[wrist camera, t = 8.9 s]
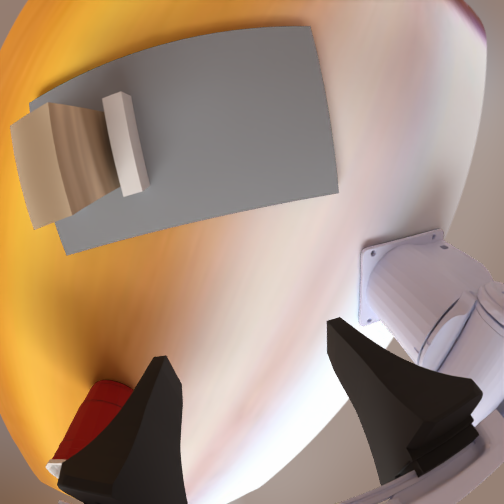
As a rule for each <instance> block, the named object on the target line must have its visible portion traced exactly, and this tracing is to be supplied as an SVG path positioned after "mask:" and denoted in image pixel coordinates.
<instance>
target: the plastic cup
mask: <svg viewBox="0 0 504 504" xmlns="http://www.w3.org/2000/svg"><path fill="white" fill-rule="evenodd" d="M132 392H133V390H132V389H131V388H129V387H128V386H126V385H124V384H122V383H119V382H115V381H112V380H101V381H98V382H96V383H95V385H93V387H92V388H91V389H90V391H89V393H88V395H87V397H86V398H85V400H84V402H83V403H82V404H81V406H80V407H79V409H78V411H77V413H76V415H75V417H74V419H73V421H72V423H71V425H70V427H69V429H68V431H67V433H66V435H65V437H64V439H63V441H62V442H61V443H60V445H59V448H58V450H57V451H56V453H55V455H54V457H53V458H52V459H50V460H49V462H48V463H47V465H46V468H47V470H48V471H49V472H50V473H51V474H52V475H54V476H55V477H57V478H58V479H59V474H60V469H61V465H62V462H64V461H66V460H67V459H69V458H70V457H72V456H73V455H75V454H76V453H78V452H79V451H80V450H82V449H83V448H84V447H85V446H87V445H88V444H89V443H90V442H91V441H92V440H94V439H95V438H96V437H97V436H98V435H99V434H100V433H101V432H102V431H103V430H104V429H105V428H106V427H107V426H108V424H109V423H110V422H111V421H112V420H113V419H114V417H115V416H116V415H117V414H118V412H119V411H120V410H121V408H122V407H123V406H124V404H125V403H126V401H127V400H128V398H129V397H130V395H131V394H132Z"/></svg>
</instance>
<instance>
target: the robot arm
mask: <svg viewBox="0 0 504 504" xmlns="http://www.w3.org/2000/svg"><path fill="white" fill-rule="evenodd" d="M443 235H444V232H443V230H441V229H436V230H432V231H429V232H425V233H421V234H417V235H414V236H410V237H406V238H402V239H398V240H394V241H390V242H386V243H383V244H379V245H375V246H371V247H367V248H364V249H363V250H362V252H361V285H360V308H359V324H360V325H361V326H365V325H368V324H371V323H374V322H377V321H380V320H381V321H382V322H383V324H384V325H385V326H386V327H387V329H388V330H389V331H390V332H391V333H392V335H393V336H394V337H395V338H396V339H397V341H398V342H399V343H400V345H401V346H402V347H403V349H404V350H405V351H406V352H407V354H408V355H409V356H410V358H411V359H412V360H413V361H414V363H415V364H413V363H411V362H409V361H406V360H404V359H402V358H400V357H398V356H396V355H394V354H393V353H390V352H389V351H387V350H386V349H384V348H382V347H381V346H379V345H378V344H376V343H375V342H373V341H372V340H370V339H369V338H367V337H366V336H364V335H363V334H362V333H360V332H359V331H357V330H356V329H355V328H353V327H352V326H351V325H349V324H348V323H347V322H346V321H344V320H343V319H342V318H340V317H339V318H335V319H332V320H329V321H327V354H328V356H329V359H330V361H331V364H332V366H333V369H334V371H335V373H336V375H337V377H338V379H339V381H340V382H341V384H342V386H343V388H344V390H345V391H346V393H347V395H348V397H349V399H350V400H351V402H352V404H353V406H354V408H355V410H356V412H357V414H358V417H359V419H360V422H361V424H362V427H363V429H364V432H365V434H366V437H367V440H368V443H369V446H370V449H371V452H372V455H373V458H374V462H375V465H376V469H377V472H378V476H379V480H380V484H381V486H380V487H378V488H376V489H373V490H371V491H368V492H366V493H363V494H361V495H358V496H356V497H353V498H350V499H347V500H344V501H341V502H339V503H335V504H378V503H380V502H382V501H385V500H387V499H389V498H390V499H389V500H388V501H387V502H385V503H383V504H456V503H457V502H459V501H460V500H461V499H463V498H464V497H465V496H467V495H468V494H469V493H470V492H471V491H473V490H474V489H475V488H476V487H477V486H478V485H480V484H481V483H482V482H483V481H484V480H485V479H486V478H488V476H490V475H491V474H492V473H493V472H494V471H495V470H496V469H497V468H498V467H499V466H500V465H501V464H502V463H503V462H504V283H501V282H498V281H493V278H492V276H491V274H490V273H489V271H488V270H487V268H486V267H485V266H484V265H483V264H481V263H480V262H478V261H477V260H475V259H474V258H472V257H470V256H469V255H468V254H466V253H464V252H462V251H461V250H459V249H458V248H456V247H454V246H453V245H451V244H449V243H448V242H446V241H444V240H443ZM432 236H433V237H432ZM372 251H374V252H373V254H371V252H372ZM368 319H369V320H368ZM182 407H183V399H182V384H181V382H180V380H179V378H178V377H177V375H176V373H175V371H174V369H173V367H172V366H171V364H170V362H169V360H168V358H167V356H159V357H154V358H153V359H152V361H151V363H150V364H149V366H148V367H147V369H146V371H145V373H144V374H143V376H142V378H141V379H140V381H139V383H138V384H137V386H136V387H135V389H134V391H133V392H132V394H131V395H130V397H129V398H128V400H127V401H126V403H125V404H124V406H123V407H122V408H121V410H120V411H119V412H118V414H117V415H116V416H115V417H114V419H113V420H112V421H111V422H110V423H109V424H108V426H107V427H106V428H105V429H104V430H103V431H102V432H101V433H100V434H99V435H98V436H97V437H96V438H95V439H94V440H92V441H91V442H90V443H89V444H88V445H87V446H85V447H84V448H83V449H82V450H80V451H79V452H78V453H76V454H75V455H73V456H72V457H70V458H69V459H67V460H66V461H64V462H62V465H61V469H60V474H59V479H58V483H57V485H58V487H59V489H61V490H62V491H63V492H65V493H67V494H68V495H70V496H72V497H74V498H76V499H78V500H79V501H81V502H83V503H84V504H188V503H187V498H186V493H185V487H184V481H183V473H182V465H181V453H180V440H181V423H182ZM58 504H72V503H68V502H65V501H62V500H59V501H58Z"/></svg>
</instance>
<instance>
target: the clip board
mask: <svg viewBox="0 0 504 504" xmlns="http://www.w3.org/2000/svg"><path fill="white" fill-rule="evenodd" d="M47 102H50V103H57V104H64V105H70V106H76V107H81V108H87V109H92V110H97V111H102V112H104V113H105V118H106V124H107V129H108V134H109V139H110V144H111V148H112V153H113V157H114V162H115V166H116V170H117V174H118V178H119V182H120V186H121V187H119V188H117V189H115V190H113V191H112V192H110V193H108V194H106V195H105V196H103V197H101V198H100V199H98V200H96V201H95V202H93V203H91V204H90V205H88V206H86V207H85V208H83V209H82V210H80V211H78V212H77V213H75V214H74V215H72V216H69V217H66V218H64V219H61V220H58V221H56V222H55V225H56V228H57V231H58V234H59V236H60V239H61V242H62V245H63V247H64V250H65V252H66V255H71V254H74V253H77V252H81V251H84V250H88V249H91V248H95V247H98V246H102V245H106V244H109V243H113V242H117V241H120V240H124V239H128V238H132V237H136V236H139V235H143V234H147V233H151V232H155V231H159V230H163V229H167V228H171V227H176V226H180V225H184V224H188V223H192V222H197V221H201V220H206V219H210V218H214V217H219V216H223V215H228V214H233V213H237V212H242V211H247V210H252V209H256V208H261V207H266V206H271V205H276V204H282V203H287V202H292V201H297V200H303V199H308V198H314V197H319V196H325V195H331V194H336V193H339V189H338V179H337V169H336V161H335V152H334V145H333V137H332V130H331V124H330V117H329V111H328V105H327V100H326V94H325V89H324V84H323V79H322V74H321V69H320V64H319V60H318V55H317V51H316V47H315V43H314V39H313V35H312V31H311V27H310V26H283V27H262V28H250V29H240V30H232V31H225V32H218V33H212V34H206V35H201V36H196V37H191V38H187V39H182V40H178V41H174V42H170V43H166V44H162V45H159V46H155V47H152V48H149V49H145V50H142V51H139V52H136V53H133V54H130V55H127V56H124V57H122V58H119V59H116V60H114V61H111V62H109V63H106V64H104V65H101V66H99V67H97V68H94V69H92V70H90V71H88V72H85V73H83V74H81V75H79V76H77V77H75V78H73V79H71V80H69V81H67V82H65V83H63V84H61V85H59V86H57V87H56V88H54V89H52V90H50V91H48V92H47V93H45V94H43V95H42V96H40V97H38V98H37V99H35V100H33V101H32V102H30V103H29V106H30V113H31V112H32V111H34V110H35V109H37V108H39V107H40V106H42V105H44V104H46V103H47Z"/></svg>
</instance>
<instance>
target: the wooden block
mask: <svg viewBox="0 0 504 504" xmlns="http://www.w3.org/2000/svg"><path fill="white" fill-rule="evenodd" d="M10 129H11V136H12V143H13V149H14V155H15V160H16V165H17V170H18V175H19V179H20V183H21V187H22V191H23V195H24V199H25V202H26V206H27V209H28V212H29V216H30V219H31V222H32V225H33V228H34V230H35V229H38V228H40V227H43V226H45V225H48V224H50V223H53V222H56V221H58V220H61V219H64V218H66V217H69V216H72V215H74V214H75V213H77V212H78V211H80V210H82V209H83V208H85V207H86V206H88V205H90V204H91V203H93V202H95V201H96V200H98V199H100V198H101V197H103V196H105V195H106V194H108V193H110V192H112V191H113V190H115V189H117V188H119V187H121V186H120V182H119V178H118V174H117V170H116V166H115V162H114V157H113V153H112V148H111V144H110V139H109V134H108V129H107V124H106V118H105V113H104V112H102V111H97V110H92V109H87V108H81V107H76V106H70V105H64V104H57V103H50V102H47V103H46V104H44V105H42V106H40V107H39V108H37V109H35V110H34V111H32V112H31V113H29V114H27V115H26V116H24V117H23V118H21V119H20V120H18V121H17V122H15V123H14V124H12V125H11V126H10Z"/></svg>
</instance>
